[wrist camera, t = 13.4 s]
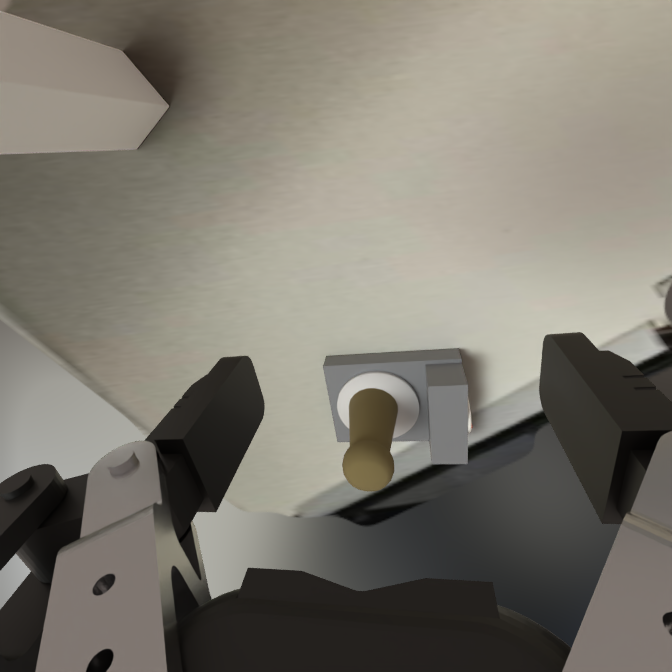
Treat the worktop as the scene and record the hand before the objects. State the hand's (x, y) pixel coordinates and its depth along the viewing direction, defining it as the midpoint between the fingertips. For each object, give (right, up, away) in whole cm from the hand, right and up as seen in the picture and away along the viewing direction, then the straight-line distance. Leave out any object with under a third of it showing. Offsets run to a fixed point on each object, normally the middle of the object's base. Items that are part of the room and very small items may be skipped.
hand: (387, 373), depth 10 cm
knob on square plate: (+6, -6, +38) cm, 39 cm away
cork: (+3, -8, +36) cm, 37 cm away
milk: (-22, +24, +27) cm, 42 cm away
